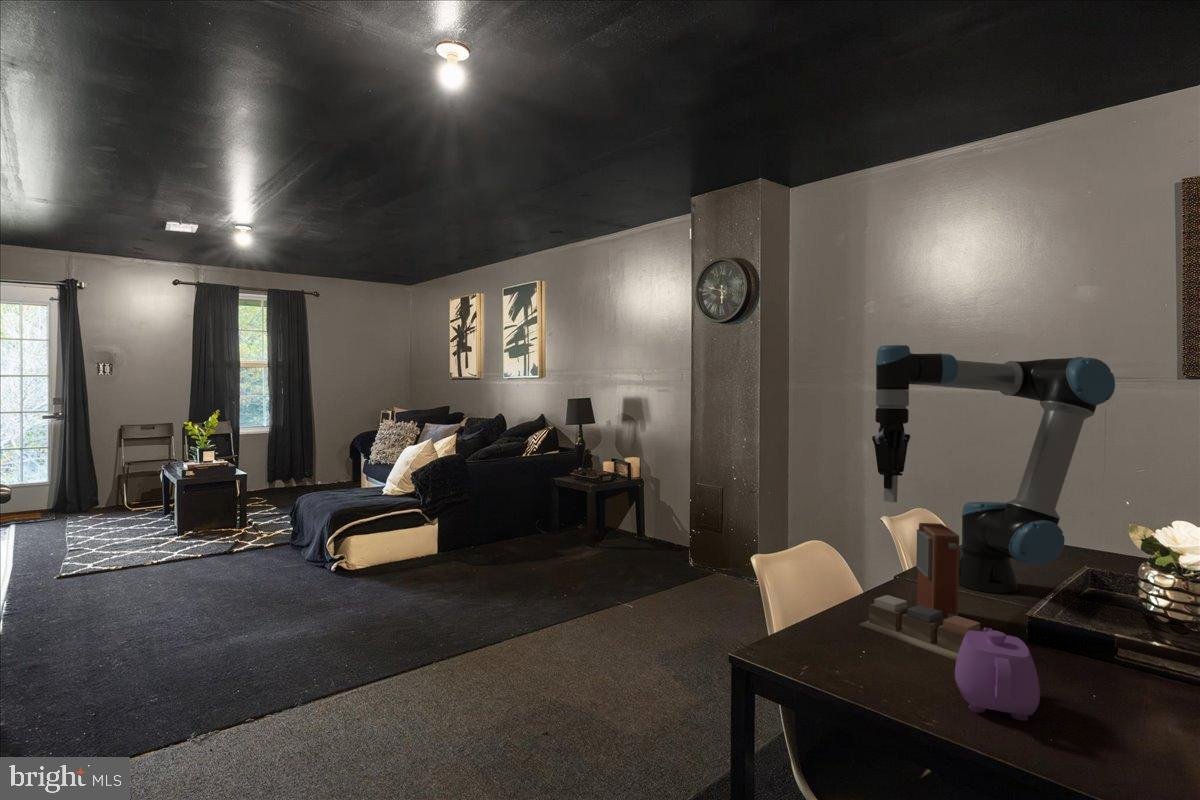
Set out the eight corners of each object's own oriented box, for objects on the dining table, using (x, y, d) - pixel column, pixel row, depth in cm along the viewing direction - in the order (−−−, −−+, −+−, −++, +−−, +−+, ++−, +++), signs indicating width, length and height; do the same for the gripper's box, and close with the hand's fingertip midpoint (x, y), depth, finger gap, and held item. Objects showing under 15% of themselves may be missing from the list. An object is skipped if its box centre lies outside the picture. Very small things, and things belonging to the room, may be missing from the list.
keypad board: (889, 615, 155) (889, 596, 155) (995, 650, 135) (995, 628, 135) (859, 625, 148) (859, 606, 148) (965, 663, 128) (966, 641, 128)
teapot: (1050, 741, 101) (1052, 661, 100) (960, 723, 106) (961, 647, 105) (1025, 686, 119) (1027, 618, 119) (949, 673, 124) (951, 608, 124)
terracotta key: (955, 633, 138) (955, 615, 138) (979, 641, 134) (980, 622, 134) (943, 638, 135) (943, 620, 135) (967, 647, 131) (967, 627, 131)
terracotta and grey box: (941, 607, 160) (963, 630, 145) (911, 605, 161) (929, 628, 147) (943, 522, 159) (965, 536, 145) (913, 521, 161) (931, 535, 146)
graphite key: (919, 622, 145) (919, 604, 145) (941, 629, 141) (941, 611, 141) (907, 626, 142) (907, 608, 142) (929, 634, 138) (929, 615, 138)
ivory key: (886, 611, 152) (887, 594, 151) (907, 618, 147) (907, 600, 147) (874, 615, 149) (874, 598, 149) (894, 622, 145) (894, 605, 145)
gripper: (893, 406, 167) (891, 496, 167) (862, 407, 159) (861, 501, 160) (921, 407, 160) (919, 501, 161) (890, 408, 153) (889, 506, 154)
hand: (890, 501), depth 161 cm, fingers closed
